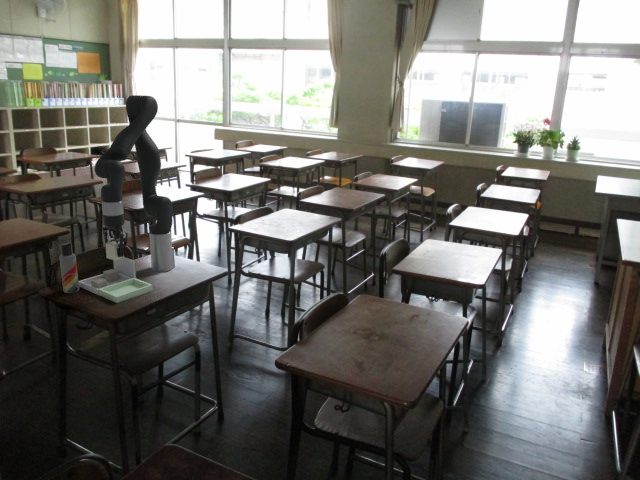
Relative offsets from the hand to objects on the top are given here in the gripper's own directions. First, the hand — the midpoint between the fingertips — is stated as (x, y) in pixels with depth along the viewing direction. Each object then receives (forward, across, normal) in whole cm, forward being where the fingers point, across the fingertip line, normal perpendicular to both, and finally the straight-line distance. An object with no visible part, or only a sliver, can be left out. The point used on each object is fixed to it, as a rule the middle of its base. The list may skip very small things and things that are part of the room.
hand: (116, 255), depth 199 cm
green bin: (+16, -4, -1) cm, 16 cm away
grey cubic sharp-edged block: (+15, +13, -4) cm, 20 cm away
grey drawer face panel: (+15, +10, -9) cm, 21 cm away
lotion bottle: (+16, +14, +12) cm, 25 cm away
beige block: (+1, 0, +1) cm, 1 cm away
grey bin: (+16, +10, 0) cm, 18 cm away
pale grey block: (+15, +7, +4) cm, 17 cm away
